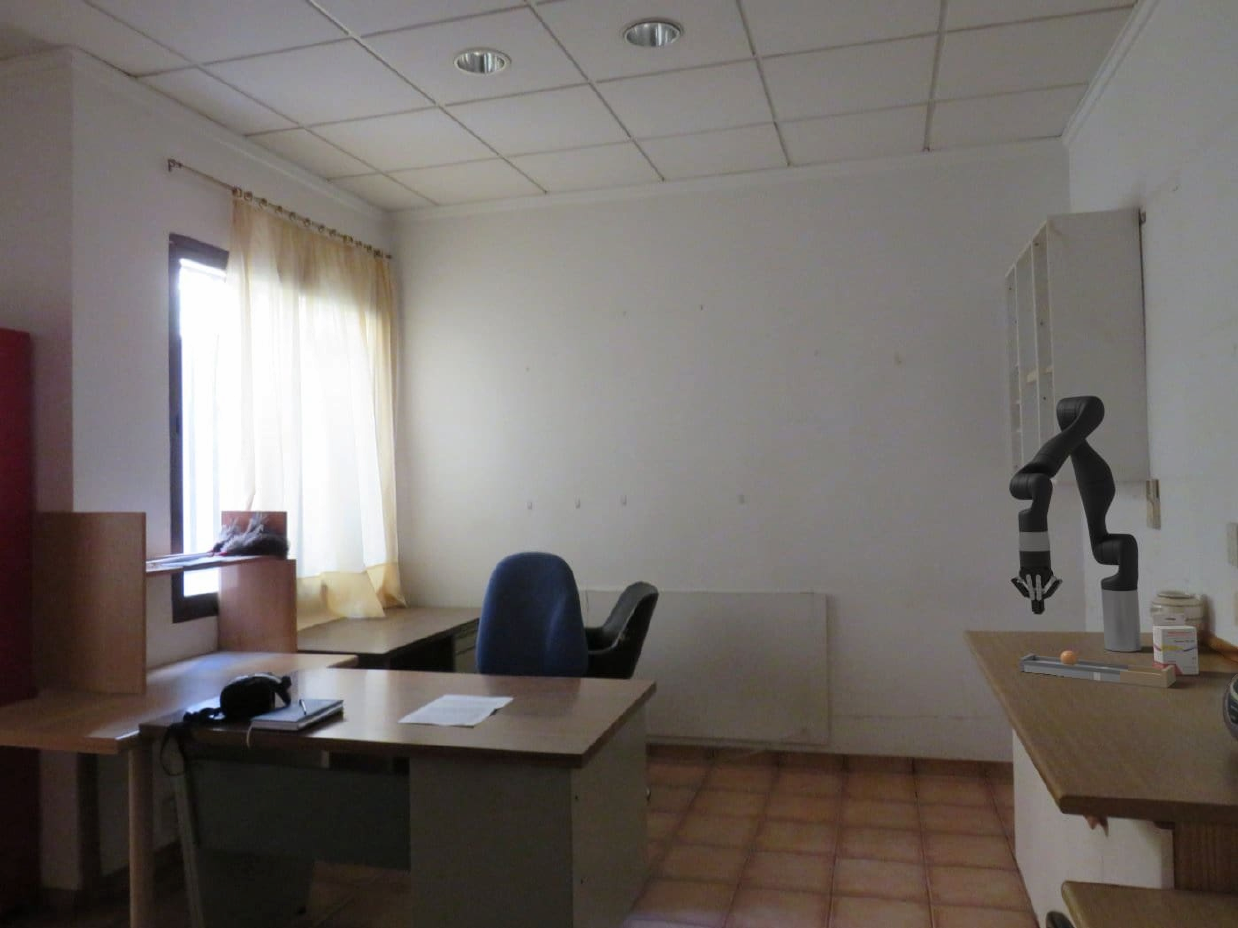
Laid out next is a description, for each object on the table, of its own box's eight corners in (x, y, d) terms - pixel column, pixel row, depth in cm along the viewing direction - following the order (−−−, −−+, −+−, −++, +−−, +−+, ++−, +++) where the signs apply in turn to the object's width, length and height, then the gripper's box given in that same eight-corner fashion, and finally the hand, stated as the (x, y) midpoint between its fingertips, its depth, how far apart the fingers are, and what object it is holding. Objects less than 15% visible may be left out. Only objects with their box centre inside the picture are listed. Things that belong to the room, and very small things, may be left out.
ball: (1064, 663, 235) (1063, 648, 236) (1080, 665, 233) (1079, 649, 233) (1058, 666, 233) (1057, 651, 233) (1075, 668, 230) (1074, 652, 230)
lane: (1032, 666, 243) (1031, 651, 243) (1175, 681, 219) (1174, 664, 219) (1020, 671, 237) (1019, 656, 238) (1166, 687, 214) (1165, 671, 214)
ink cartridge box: (1164, 675, 226) (1160, 616, 226) (1154, 671, 231) (1150, 613, 231) (1200, 674, 225) (1196, 615, 225) (1189, 669, 230) (1185, 612, 230)
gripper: (1065, 547, 236) (1069, 613, 236) (1014, 547, 245) (1018, 610, 245) (1055, 550, 231) (1059, 617, 230) (1003, 549, 240) (1007, 614, 240)
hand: (1038, 613), depth 238 cm, fingers closed
